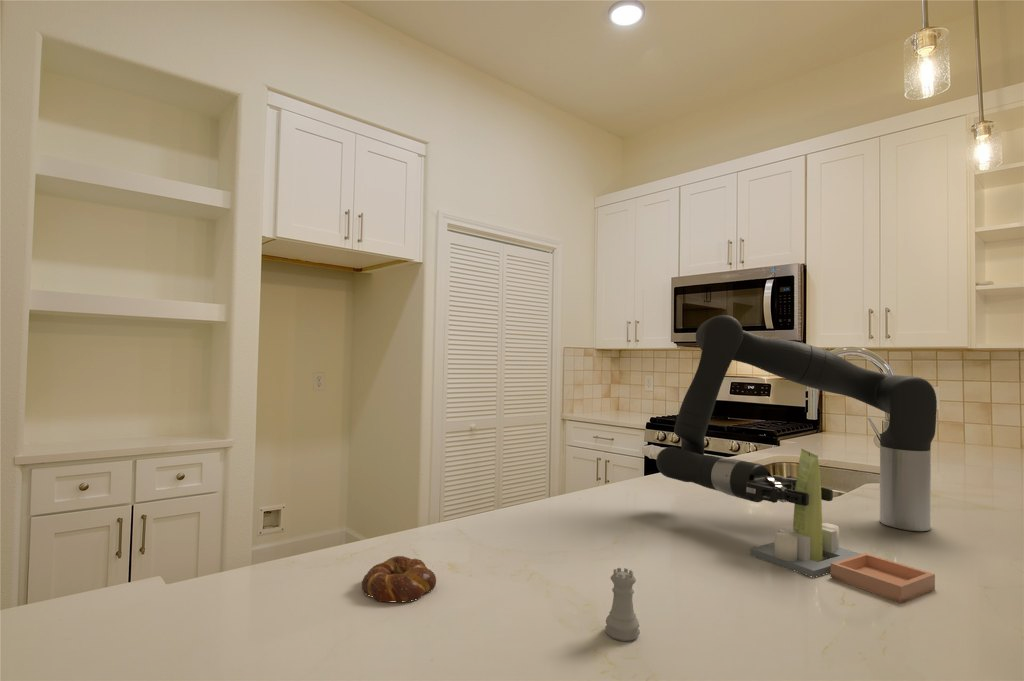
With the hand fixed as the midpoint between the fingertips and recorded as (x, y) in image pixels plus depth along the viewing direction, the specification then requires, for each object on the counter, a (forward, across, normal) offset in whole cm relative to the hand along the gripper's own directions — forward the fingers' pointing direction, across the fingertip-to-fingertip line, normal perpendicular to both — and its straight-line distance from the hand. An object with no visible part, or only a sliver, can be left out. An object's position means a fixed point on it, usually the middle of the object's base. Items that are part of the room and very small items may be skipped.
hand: (819, 497), depth 99 cm
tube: (-2, 0, +12) cm, 12 cm away
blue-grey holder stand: (-2, 0, +12) cm, 12 cm away
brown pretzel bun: (-24, -70, +12) cm, 75 cm away
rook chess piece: (+3, -49, +12) cm, 50 cm away
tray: (+10, 0, +12) cm, 15 cm away
